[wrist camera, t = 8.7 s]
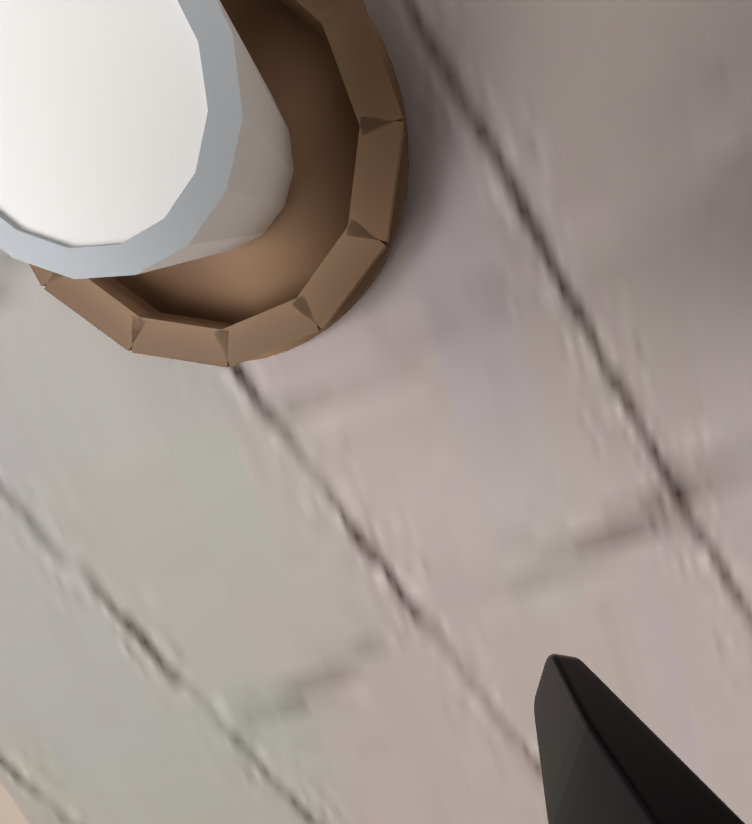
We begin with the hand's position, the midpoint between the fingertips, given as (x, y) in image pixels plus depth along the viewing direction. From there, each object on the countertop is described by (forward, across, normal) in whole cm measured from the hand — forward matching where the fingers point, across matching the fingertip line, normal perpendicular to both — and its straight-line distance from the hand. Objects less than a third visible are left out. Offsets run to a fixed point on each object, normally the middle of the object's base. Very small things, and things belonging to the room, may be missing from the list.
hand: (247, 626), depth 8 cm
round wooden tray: (+12, +6, -8) cm, 15 cm away
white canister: (+11, +5, -8) cm, 15 cm away
